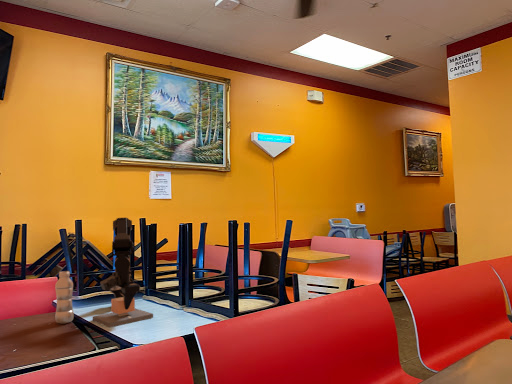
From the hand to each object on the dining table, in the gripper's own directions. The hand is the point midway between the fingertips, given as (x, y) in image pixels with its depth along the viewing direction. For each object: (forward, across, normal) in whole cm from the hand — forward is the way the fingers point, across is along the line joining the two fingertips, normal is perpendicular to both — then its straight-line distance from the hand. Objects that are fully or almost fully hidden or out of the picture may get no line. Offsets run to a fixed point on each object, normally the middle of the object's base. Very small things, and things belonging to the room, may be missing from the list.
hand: (122, 308), depth 156 cm
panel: (+4, 0, 0) cm, 4 cm away
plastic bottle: (+4, -13, -18) cm, 23 cm away
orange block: (+1, 0, 0) cm, 1 cm away
